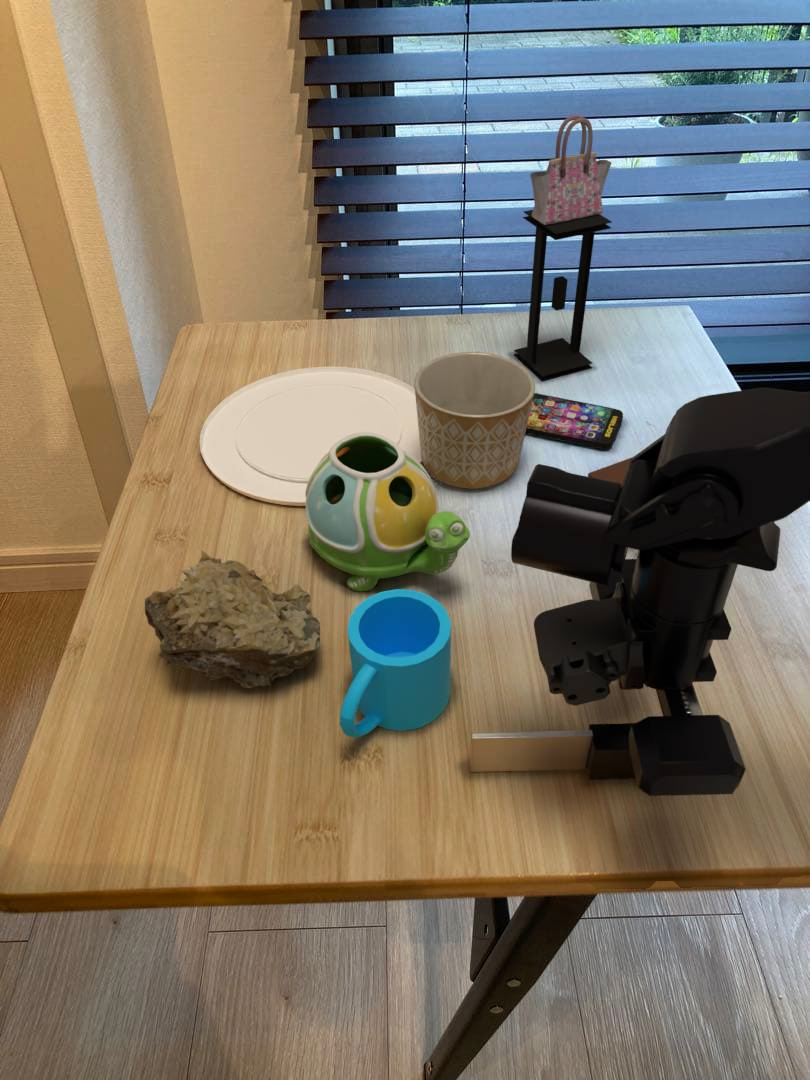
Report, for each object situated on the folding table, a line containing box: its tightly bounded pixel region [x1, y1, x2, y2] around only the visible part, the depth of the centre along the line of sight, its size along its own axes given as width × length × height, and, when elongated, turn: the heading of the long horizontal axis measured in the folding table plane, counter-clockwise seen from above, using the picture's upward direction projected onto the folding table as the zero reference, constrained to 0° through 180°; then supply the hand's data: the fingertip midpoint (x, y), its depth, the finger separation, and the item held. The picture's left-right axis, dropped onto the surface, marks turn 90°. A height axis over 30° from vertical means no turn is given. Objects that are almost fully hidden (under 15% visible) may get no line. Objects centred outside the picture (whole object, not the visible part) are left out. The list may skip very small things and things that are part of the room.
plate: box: [199, 366, 423, 507], centre depth 100 cm, size 28×28×1 cm
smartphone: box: [525, 392, 624, 450], centre depth 101 cm, size 8×1×15 cm
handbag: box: [513, 114, 613, 382], centre depth 102 cm, size 10×8×30 cm
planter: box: [413, 351, 536, 489], centre depth 92 cm, size 13×13×10 cm
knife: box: [469, 722, 636, 781], centre depth 64 cm, size 16×2×4 cm, turn 91°
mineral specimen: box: [144, 549, 321, 689], centre depth 73 cm, size 14×13×10 cm
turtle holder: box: [305, 432, 471, 592], centre depth 80 cm, size 12×18×12 cm
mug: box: [339, 588, 452, 739], centre depth 68 cm, size 12×8×8 cm
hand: (638, 737), depth 63 cm, fingers open, 9 cm apart
